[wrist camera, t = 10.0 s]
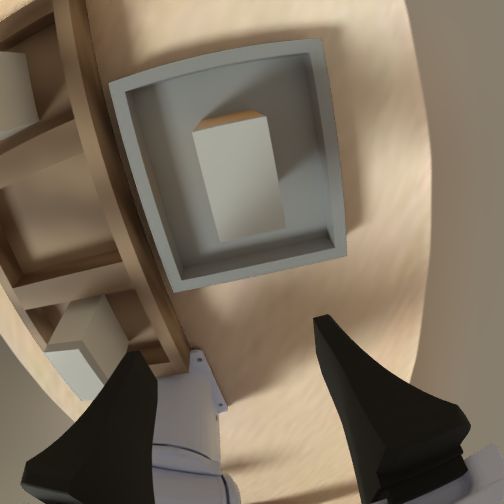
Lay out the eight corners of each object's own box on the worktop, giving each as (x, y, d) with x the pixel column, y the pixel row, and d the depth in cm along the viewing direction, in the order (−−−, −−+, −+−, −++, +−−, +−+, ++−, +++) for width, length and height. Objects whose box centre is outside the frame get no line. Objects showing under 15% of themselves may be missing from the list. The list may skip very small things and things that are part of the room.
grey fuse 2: (129, 341, 24) (114, 399, 19) (99, 345, 24) (80, 400, 19) (103, 292, 22) (78, 348, 17) (71, 298, 22) (43, 352, 17)
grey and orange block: (267, 188, 20) (286, 228, 14) (219, 199, 20) (220, 242, 14) (252, 109, 17) (266, 116, 12) (200, 120, 17) (192, 132, 12)
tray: (336, 241, 23) (347, 255, 21) (177, 275, 23) (173, 293, 21) (310, 43, 16) (320, 37, 14) (120, 83, 16) (108, 83, 14)
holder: (190, 348, 26) (189, 372, 24) (75, 362, 26) (67, 384, 24) (84, -6, 13) (66, -17, 10) (-42, 73, 13) (-65, 76, 10)
